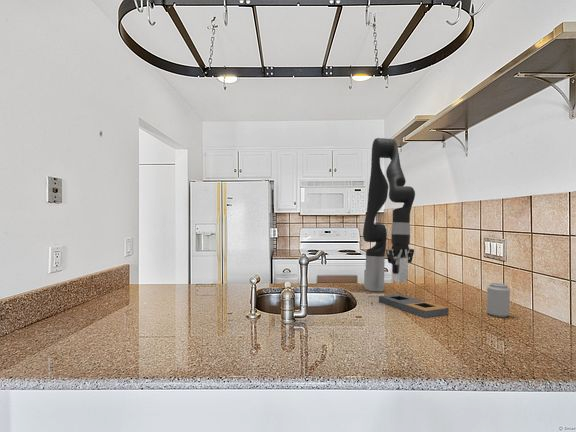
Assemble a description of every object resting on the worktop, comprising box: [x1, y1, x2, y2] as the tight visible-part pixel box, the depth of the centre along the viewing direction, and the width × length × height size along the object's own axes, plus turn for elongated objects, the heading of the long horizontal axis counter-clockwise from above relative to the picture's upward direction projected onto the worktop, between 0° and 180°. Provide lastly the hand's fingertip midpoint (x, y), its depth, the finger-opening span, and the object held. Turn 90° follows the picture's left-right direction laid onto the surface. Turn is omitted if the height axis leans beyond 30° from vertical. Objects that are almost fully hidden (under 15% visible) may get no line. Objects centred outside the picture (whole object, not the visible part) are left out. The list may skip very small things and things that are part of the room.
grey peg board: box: [378, 293, 449, 319], centre depth 147 cm, size 26×12×3 cm, turn 25°
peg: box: [391, 257, 409, 283], centre depth 154 cm, size 4×4×10 cm
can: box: [486, 282, 511, 318], centre depth 139 cm, size 8×8×12 cm
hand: (399, 273), depth 154 cm, fingers closed on peg, 4 cm apart
